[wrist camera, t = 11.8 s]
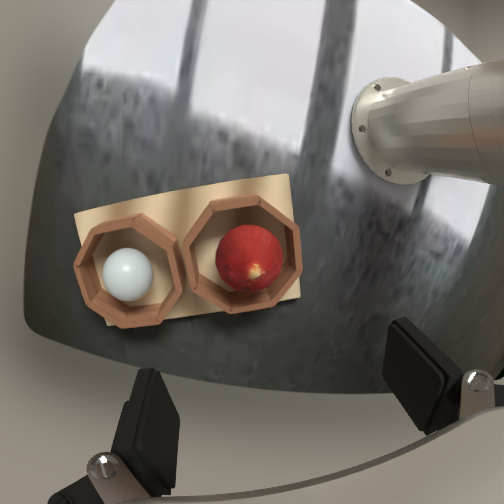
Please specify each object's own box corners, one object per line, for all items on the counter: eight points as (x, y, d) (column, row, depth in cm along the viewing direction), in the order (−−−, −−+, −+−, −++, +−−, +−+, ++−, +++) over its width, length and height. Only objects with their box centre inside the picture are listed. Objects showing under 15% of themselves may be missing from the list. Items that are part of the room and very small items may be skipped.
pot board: (285, 173, 28) (298, 175, 24) (297, 292, 32) (309, 312, 28) (78, 212, 27) (58, 221, 22) (110, 320, 31) (97, 342, 26)
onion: (260, 281, 30) (275, 320, 22) (207, 263, 29) (204, 299, 21) (283, 229, 29) (306, 254, 21) (228, 208, 28) (232, 226, 20)
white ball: (151, 237, 27) (139, 252, 23) (162, 284, 29) (153, 307, 24) (106, 246, 27) (87, 262, 22) (119, 291, 29) (104, 313, 24)
